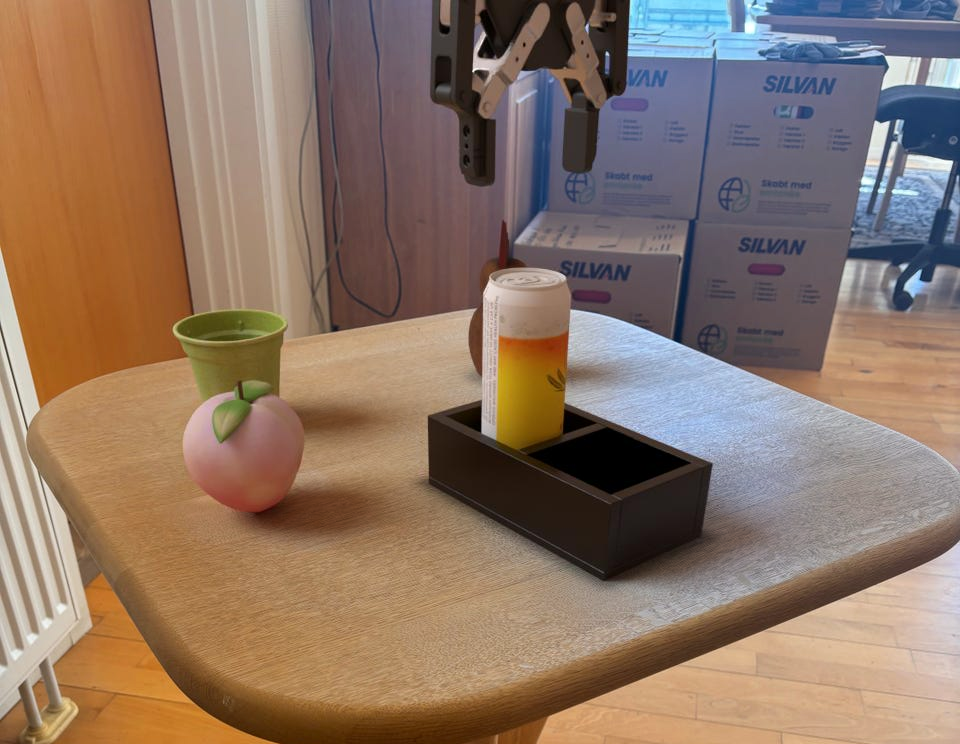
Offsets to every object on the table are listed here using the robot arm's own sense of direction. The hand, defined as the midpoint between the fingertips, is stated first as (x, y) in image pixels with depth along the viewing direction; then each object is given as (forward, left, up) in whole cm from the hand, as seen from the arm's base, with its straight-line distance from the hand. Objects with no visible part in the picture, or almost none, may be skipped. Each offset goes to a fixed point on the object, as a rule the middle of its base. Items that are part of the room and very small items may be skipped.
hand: (530, 178), depth 63 cm
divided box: (0, +4, -22) cm, 23 cm away
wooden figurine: (-16, -21, -22) cm, 34 cm away
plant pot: (+10, -26, -22) cm, 35 cm away
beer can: (0, 0, -21) cm, 21 cm away
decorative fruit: (+18, -10, -22) cm, 30 cm away
